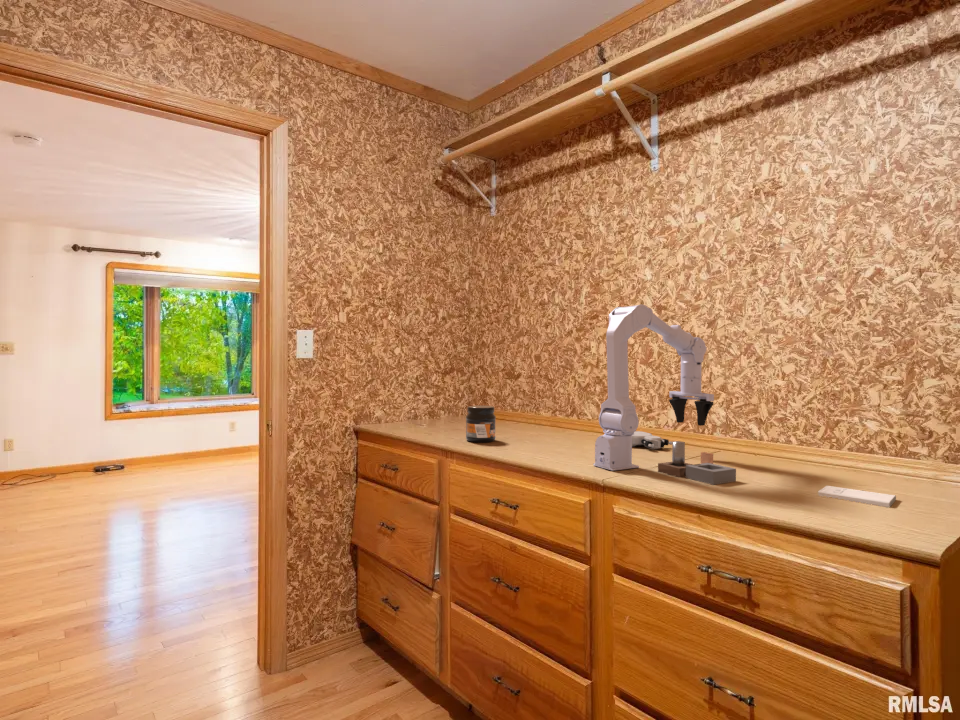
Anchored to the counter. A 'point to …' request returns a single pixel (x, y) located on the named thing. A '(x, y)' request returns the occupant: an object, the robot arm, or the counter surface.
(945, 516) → the counter surface
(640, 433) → the robot toy
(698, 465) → the block
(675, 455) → the rounded metal peg
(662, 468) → the socket block
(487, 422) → the supplement container
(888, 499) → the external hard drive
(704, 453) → the pin
